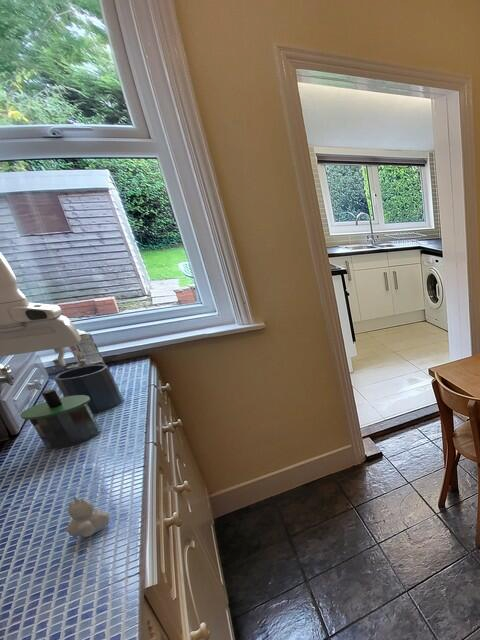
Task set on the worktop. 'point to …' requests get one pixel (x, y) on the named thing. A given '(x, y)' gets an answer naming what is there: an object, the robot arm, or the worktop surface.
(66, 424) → the cup
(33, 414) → the lid
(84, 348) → the candy bar box
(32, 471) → the worktop surface
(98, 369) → the tin
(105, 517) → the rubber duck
